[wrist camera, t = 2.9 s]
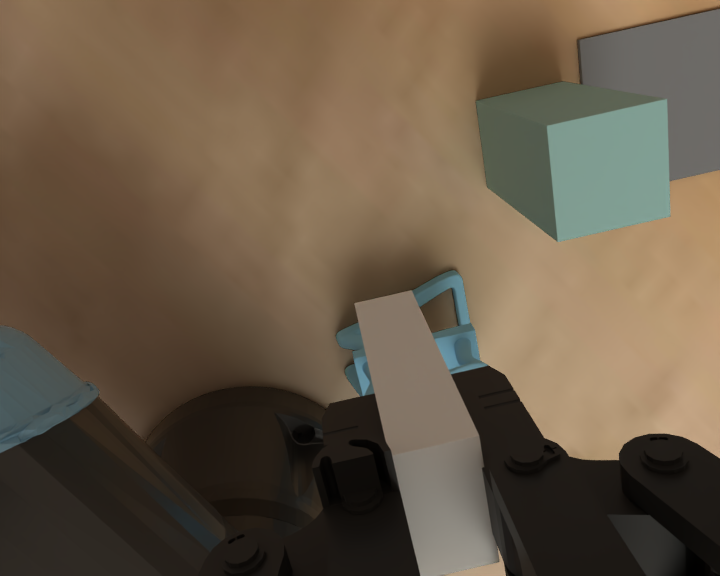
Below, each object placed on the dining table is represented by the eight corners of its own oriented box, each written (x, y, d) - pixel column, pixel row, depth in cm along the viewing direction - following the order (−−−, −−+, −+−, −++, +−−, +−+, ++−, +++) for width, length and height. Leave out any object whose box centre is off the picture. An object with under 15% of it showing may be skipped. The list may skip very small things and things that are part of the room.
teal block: (487, 187, 39) (557, 241, 28) (475, 100, 37) (546, 126, 26) (570, 168, 39) (670, 216, 28) (562, 81, 37) (667, 98, 27)
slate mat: (589, 197, 39) (591, 198, 39) (577, 40, 36) (579, 40, 36) (798, 150, 40) (802, 151, 39) (806, -11, 36) (810, -12, 36)
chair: (326, 299, 40) (336, 401, 29) (458, 268, 40) (520, 358, 29) (353, 405, 43) (373, 536, 32) (477, 376, 43) (540, 496, 32)
